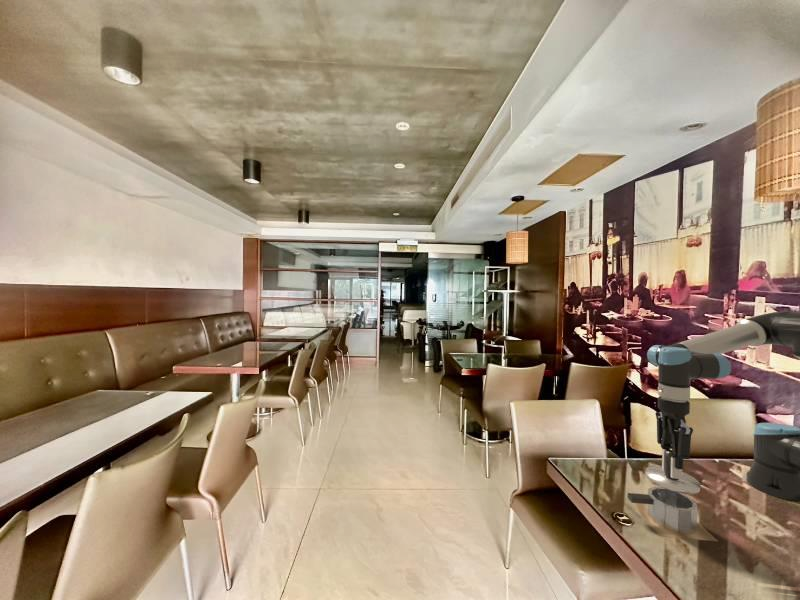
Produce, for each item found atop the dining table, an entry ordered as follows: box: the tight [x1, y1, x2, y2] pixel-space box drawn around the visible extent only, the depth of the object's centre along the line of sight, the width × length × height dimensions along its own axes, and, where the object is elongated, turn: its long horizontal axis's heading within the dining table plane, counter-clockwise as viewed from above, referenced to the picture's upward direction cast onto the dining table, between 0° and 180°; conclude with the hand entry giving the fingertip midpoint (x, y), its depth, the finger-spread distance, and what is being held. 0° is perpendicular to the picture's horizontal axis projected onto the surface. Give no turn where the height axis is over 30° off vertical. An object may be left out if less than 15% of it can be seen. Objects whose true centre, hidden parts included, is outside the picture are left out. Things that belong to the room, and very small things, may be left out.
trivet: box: [631, 502, 718, 542], centre depth 102 cm, size 15×15×1 cm
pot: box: [627, 486, 698, 535], centre depth 102 cm, size 18×12×7 cm, turn 81°
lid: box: [644, 449, 701, 495], centre depth 101 cm, size 13×13×9 cm
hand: (671, 474), depth 101 cm, fingers closed on lid, 3 cm apart
